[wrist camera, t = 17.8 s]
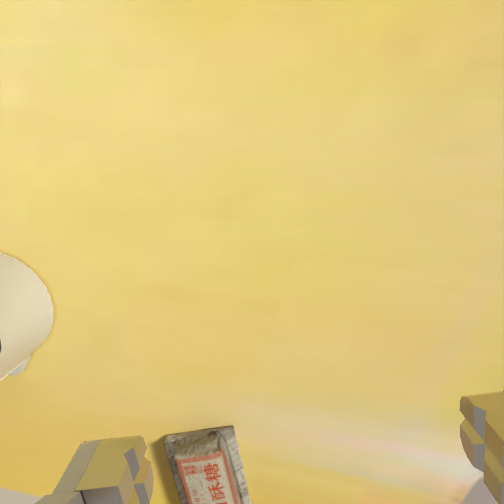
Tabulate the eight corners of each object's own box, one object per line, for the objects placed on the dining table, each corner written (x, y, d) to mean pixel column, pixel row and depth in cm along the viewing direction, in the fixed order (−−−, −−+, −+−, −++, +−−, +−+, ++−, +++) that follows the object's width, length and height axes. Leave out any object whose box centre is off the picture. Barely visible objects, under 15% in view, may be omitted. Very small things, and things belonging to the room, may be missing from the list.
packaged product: (156, 459, 51) (232, 448, 50) (164, 432, 55) (234, 421, 55) (187, 561, 56) (256, 552, 55) (192, 528, 60) (256, 519, 60)
